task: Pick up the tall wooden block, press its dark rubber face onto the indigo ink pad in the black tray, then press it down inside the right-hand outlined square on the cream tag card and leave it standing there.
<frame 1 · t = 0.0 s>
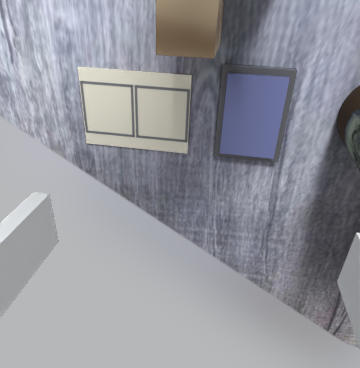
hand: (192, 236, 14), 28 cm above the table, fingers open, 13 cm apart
ink pad: (251, 113, 39), on the table
tag card: (135, 111, 41), on the table
tall wooden block: (199, 17, 35), on the table
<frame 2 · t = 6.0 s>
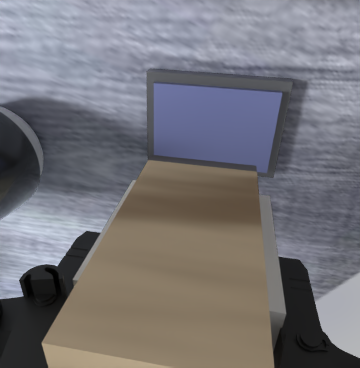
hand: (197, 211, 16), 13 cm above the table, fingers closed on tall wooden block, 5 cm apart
ink pad: (214, 122, 27), on the table
pump dispenser: (12, 140, 32), on the table
tall wooden block: (199, 204, 17), point 13 cm above the table, touching gripper
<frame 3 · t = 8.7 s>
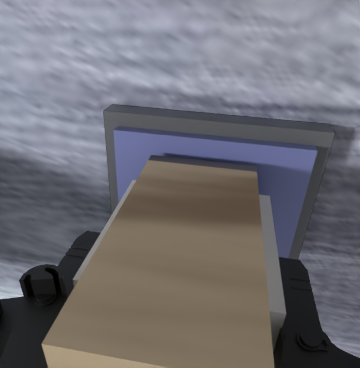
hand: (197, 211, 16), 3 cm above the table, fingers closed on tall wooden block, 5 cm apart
ink pad: (209, 182, 18), on the table
tall wooden block: (199, 204, 17), point 2 cm above the table, touching gripper
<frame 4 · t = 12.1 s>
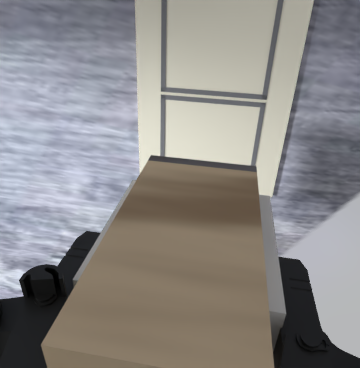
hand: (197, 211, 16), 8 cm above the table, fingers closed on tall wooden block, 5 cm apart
tag card: (212, 95, 21), on the table
tall wooden block: (199, 204, 17), point 8 cm above the table, touching gripper
when the fingers open (1 cm above the table, at t = 14.6 s): tall wooden block stays where it is, resting on tag card.
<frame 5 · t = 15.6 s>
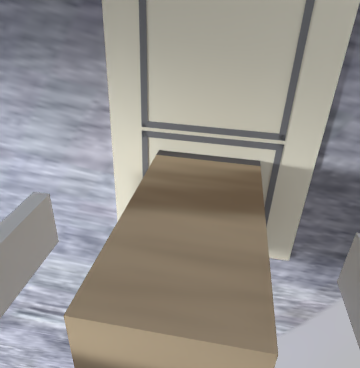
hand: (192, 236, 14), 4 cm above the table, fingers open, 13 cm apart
tag card: (211, 132, 16), on the table
tall wooden block: (204, 198, 17), resting on tag card
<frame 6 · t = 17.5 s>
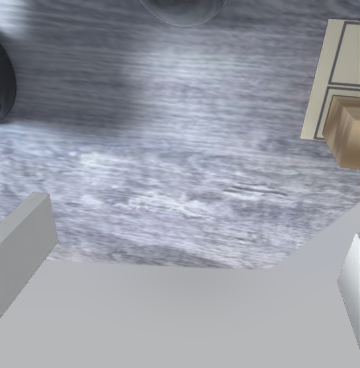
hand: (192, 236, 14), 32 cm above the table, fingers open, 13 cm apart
tag card: (356, 87, 39), on the table
tall wooden block: (348, 116, 40), resting on tag card
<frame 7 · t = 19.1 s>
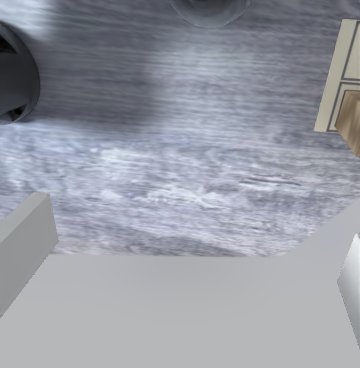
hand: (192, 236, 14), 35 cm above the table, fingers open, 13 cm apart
tall wooden block: (359, 110, 43), resting on tag card
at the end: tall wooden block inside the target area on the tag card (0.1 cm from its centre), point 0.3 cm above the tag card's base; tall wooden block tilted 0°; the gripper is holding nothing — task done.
